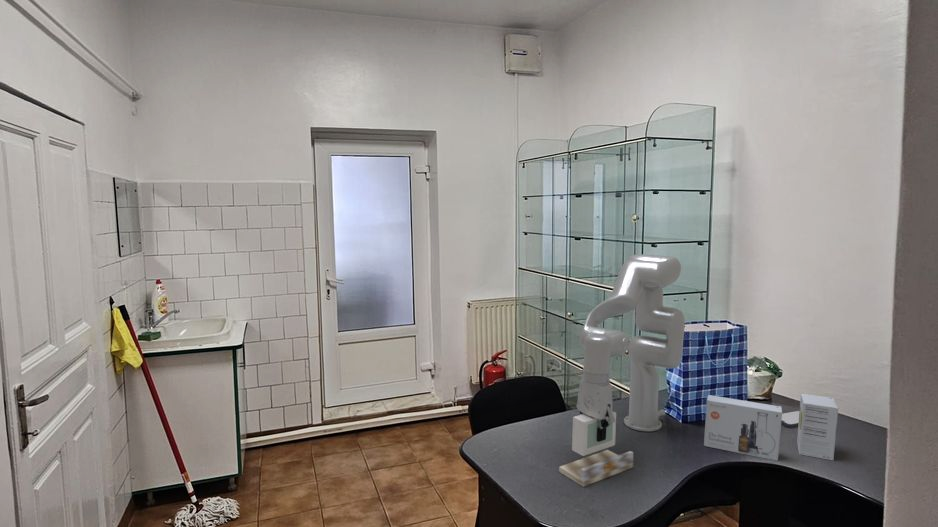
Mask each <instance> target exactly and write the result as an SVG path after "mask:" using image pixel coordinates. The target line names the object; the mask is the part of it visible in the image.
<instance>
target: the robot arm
mask: <svg viewBox="0 0 938 527" xmlns="http://www.w3.org/2000/svg"><path fill="white" fill-rule="evenodd" d="M681 269H682V267H681V262H680V260H679V259H678V258H677V257H675V256H670V255H656V254H655V255H654V254H643V253H642V254H632V255H629V257H628V258H627V260H626V261H625V262H624V263H623V264H622V265H621V267H620V269H619V273H618V276H617V278H616V280H615V283H614V286H613V288H612V291H611V293H610V296H609V297H608V298H606V299H605V300H603V301H602V302H600V303H599V304H597V305H596V306H595V307H594V308H592V310H591V311H589V313H588V314H587V317H586V318H585V320H584V323H583V326H582V328H581V331H580V334H579V335H580V336H579V342H580V345H581V347H582V348H583V367H582V370H581V372H582V378H581V379H580V382H579V386H578V393H577V394H578V395H577V402H576V405H575V406H576V408H577V410H578V411H579V415H582V414H586V415H588V416H591V417H593V418H595V419H597V420H598V426H599V428H597V441H598V442H600V441H603V440H605V439H606V427H608V426H609V425H610V424H612V423H614V422H615V418H614V416H613V414H612V411H613V403H614V402H613V401H614V400H613V392H612V384H611V382H610V381H611V380H610V378H611V358H615V357H620V356H623V355H624V354H625V353H626V352H627V351H628V356H629V364H630V365H629V367H630V371H629V372H630V373H629V374H630V375H629V377H630V378H629V396H628V397H629V399H628V400H629V404H628V408H629V409H628V415H627V416H625V417H624V418H623V423H624V424H625V426H626V427H627V428H629V429H632V430H635V431H640V432H649V433H650V432H656V431H659V430H660V429H661V428H662V427H663V425H662V423H663V422H662V421H661V420H660V419H659V418H660V417H661V416H664V415H666V411H665V409H664V408H662V409H658V408H659V389H660V386H659V385H660V378H659V377H660V376H659V373H658V371H657V368H656V367H660V368H666V369H672V370H673V369H677V368H678V367H680V365H681V363H682V360H683V352H684V351H683V350H684V337H685V334H684V333H685V327H686V326H685V324H686V323H685V320H686V319H685V315H684V313H683V311H682V310H681V309H679V308H676V307H671V306H664V304H663V303H664V289H665V288H667V287H668V286H670V285H672V284H673V283H675V282H677V280H678V279H679V277H680V275H681V271H682V270H681ZM633 311H635V322H634V323H635V326H636V328H637V330H639V331H641V332H644V333H649V334H658V335H662V336H665V337H666V338H661V337H655V336H649V335H641V334H640V335H635V336H633V337H631V339H630V338H629V335H628V334H627V333H626V332H623V331H622V330H618V329H611V328H605V327H600V325H601V324H602V323H603V322H604V321H606V320H608V319H610V318H613V317H618V316H619V315H624V314H627V313H631V312H633ZM607 417H608V419H607ZM602 420H603V421H604V422H603V423H602Z"/></svg>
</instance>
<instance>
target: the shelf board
mask: <svg viewBox="0 0 938 527" xmlns="http://www.w3.org/2000/svg"><path fill="white" fill-rule="evenodd" d="M633 467H634V452H633V451H631V450H629V451H627V452H624V453H623V452H622V453H620V454H617V453H615V452H613V451H611V450H609V449H604V450H603V451H602V450H601V451H600V452H599V451H598V452H597V453H594V454H590V455H588V456H585V457H583V458H580V459H577V460H574V461H571V462H569V463H566V464H563V465H560V466H559V467H558V472H559V473H560V474H562V475H564V476H565V477H567V478H569V479H570V480H572V481H573V482H575V483H576V484H578V485H580V486H581V487H587V486H589V485H592V484H594V483H596V482H600V481H602V480H605V479H607V478H609V477H613V476H615V475H617V474H620V473H623V472H625V471H627V470H631V469H632V468H633Z"/></svg>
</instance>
